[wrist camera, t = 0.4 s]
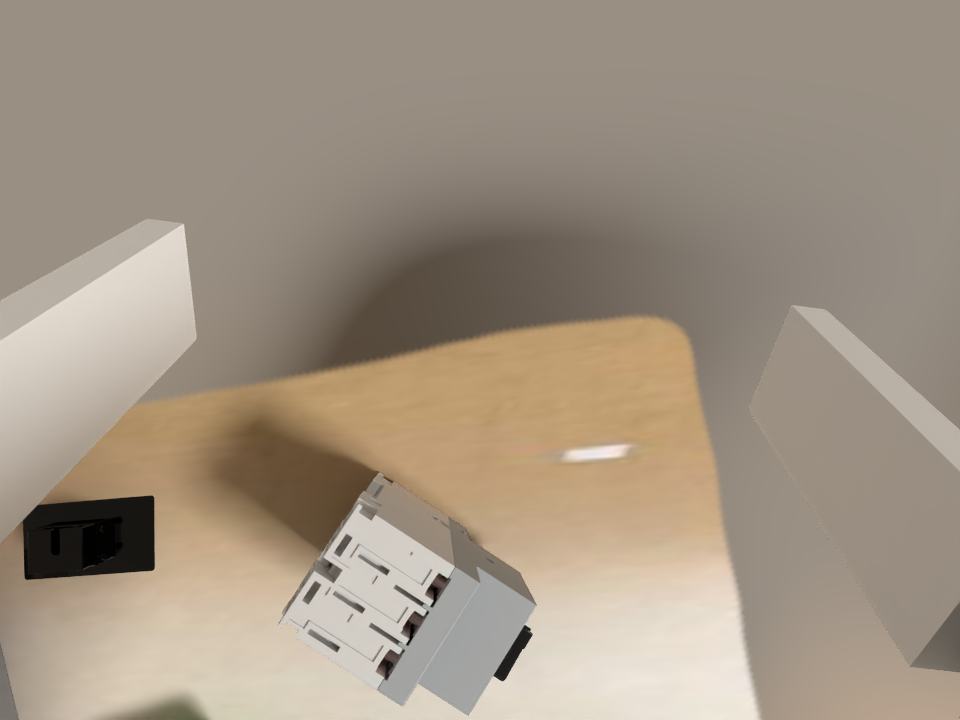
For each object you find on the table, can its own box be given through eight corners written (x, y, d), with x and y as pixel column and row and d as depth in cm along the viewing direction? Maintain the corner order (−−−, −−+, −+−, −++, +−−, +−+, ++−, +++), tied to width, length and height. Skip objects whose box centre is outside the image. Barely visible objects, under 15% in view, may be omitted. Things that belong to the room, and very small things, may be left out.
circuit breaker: (478, 654, 47) (499, 769, 32) (324, 554, 47) (273, 623, 32) (530, 571, 48) (574, 645, 33) (379, 472, 48) (354, 501, 33)
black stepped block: (175, 484, 47) (147, 492, 42) (178, 580, 46) (150, 599, 42) (5, 495, 46) (-42, 505, 41) (6, 594, 45) (-42, 615, 41)
